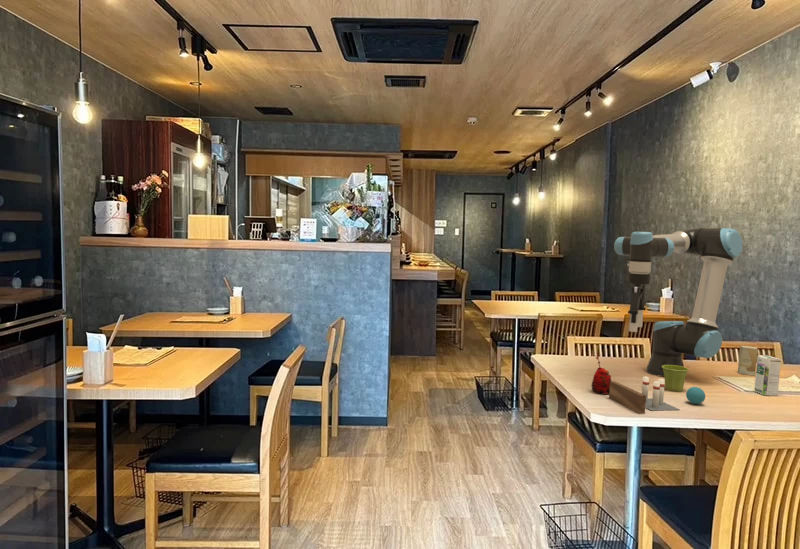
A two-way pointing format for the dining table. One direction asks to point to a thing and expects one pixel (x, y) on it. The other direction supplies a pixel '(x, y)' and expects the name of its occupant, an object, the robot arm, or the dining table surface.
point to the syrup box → (767, 375)
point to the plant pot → (674, 377)
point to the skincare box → (747, 360)
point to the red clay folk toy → (601, 380)
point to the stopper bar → (627, 397)
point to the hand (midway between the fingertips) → (635, 329)
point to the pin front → (661, 391)
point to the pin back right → (645, 386)
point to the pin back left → (655, 394)
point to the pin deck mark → (659, 406)
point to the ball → (695, 395)
